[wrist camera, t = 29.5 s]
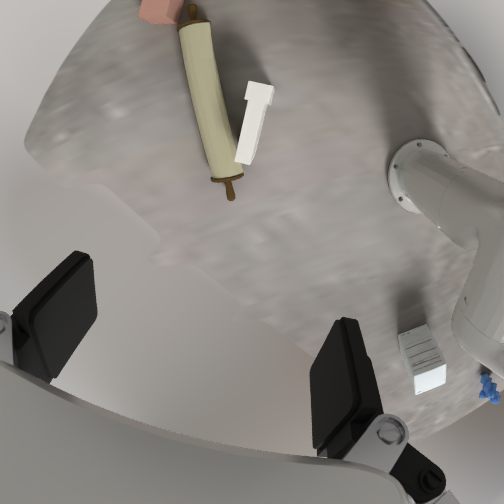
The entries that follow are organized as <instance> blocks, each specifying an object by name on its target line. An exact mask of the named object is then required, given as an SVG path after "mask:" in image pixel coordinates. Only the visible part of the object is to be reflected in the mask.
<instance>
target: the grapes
mask: <svg viewBox="0 0 504 504" xmlns="http://www.w3.org/2000/svg"><path fill="white" fill-rule="evenodd" d="M491 380H492V378H490V377H489V374H483V375H482V377H481V383H482V384H483V388H482V389H483V390H481V392H480V395H479V398H486V396H487V398H491V401H490V402H491V403H494V404H497V403H498V402H499V400H500V396H499V395H498V394H499V392H498V391H496V386H497V384H496V383H492V382H491Z"/></svg>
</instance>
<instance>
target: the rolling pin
mask: <svg viewBox="0 0 504 504" xmlns="http://www.w3.org/2000/svg"><path fill="white" fill-rule="evenodd" d="M188 11H189V16H190V21H188V22H185V23H182V24H180V25H179V26H177V30H178V32H179V35H180V41H181V47H182V53H183V59H184V65H185V70H186V75H187V79H188V84H189V89H190V93H191V98H192V103H193V107H194V111H195V115H196V119H197V123H198V127H199V131H200V134H201V138H202V142H203V146H204V149H205V153H206V156H207V160H208V163H209V167H210V170H211V174H212V177H211V181H212V182H217V183H219V182H225V184H226V194H227V199H228V200H229V201H233V200H234V199H235V193H234V190H233V186H232V182H231V181H232V180H236V179H239V178H241V177H242V176H244V172H243V168H242V165H241V163H239V162H234V161H235V157H236V152H237V149H236V146H235V143H234V139H233V135H232V131H231V127H230V123H229V119H228V115H227V110H226V106H225V102H224V98H223V93H222V89H221V84H220V79H219V74H218V70H217V65H216V60H215V55H214V49H213V44H212V38H211V30H210V25H211V21H208V20H197V17H196V14H197V7H196V5H195V4H190V5H189V7H188Z"/></svg>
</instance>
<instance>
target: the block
mask: <svg viewBox="0 0 504 504" xmlns="http://www.w3.org/2000/svg"><path fill="white" fill-rule="evenodd" d="M183 3H184V0H142V3H141V6H140V10H139V14H138V17H139V18H141V19H143V20H145V21H147V22H149V23H151V24H178V22H179V18H180V14H181V10H182V7H183Z"/></svg>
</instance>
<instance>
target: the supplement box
mask: <svg viewBox="0 0 504 504" xmlns="http://www.w3.org/2000/svg"><path fill="white" fill-rule="evenodd" d="M398 340H399V346H400V352H401V356H402V359H403V362H404V364H405V367H406V370H407V373H408V376H409V379H410V382H411V384H412V387H413V390H414V393H415V395H417V394H420V393H422V392H425V391H427V390H430V389H432V388H435V387H437V386H440V385H442V384H444V383H445V381H446V361H445V359H444V357H443V355H442V353H441V351H440V349H439V347H438V345H437V343H436V341H435V339H434V337H433V335H432V333H431V331H430V329H429V327H428V325H427V324H424V325H422V326H419V327H417V328H414V329H412V330H409V331H406V332H404V333H401V334H399V335H398Z"/></svg>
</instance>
